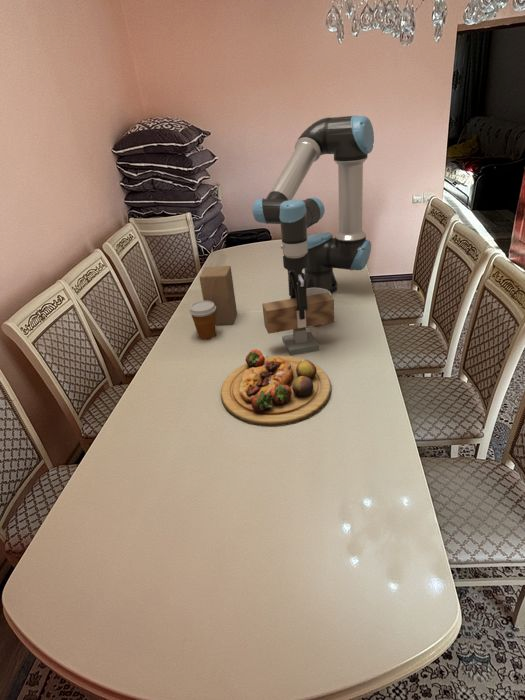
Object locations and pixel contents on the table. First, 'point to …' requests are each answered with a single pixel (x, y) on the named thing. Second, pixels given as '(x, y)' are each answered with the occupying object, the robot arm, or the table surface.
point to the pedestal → (300, 342)
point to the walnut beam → (285, 315)
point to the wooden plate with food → (275, 390)
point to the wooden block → (219, 292)
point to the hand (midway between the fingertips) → (299, 322)
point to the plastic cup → (316, 292)
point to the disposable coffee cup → (204, 319)
